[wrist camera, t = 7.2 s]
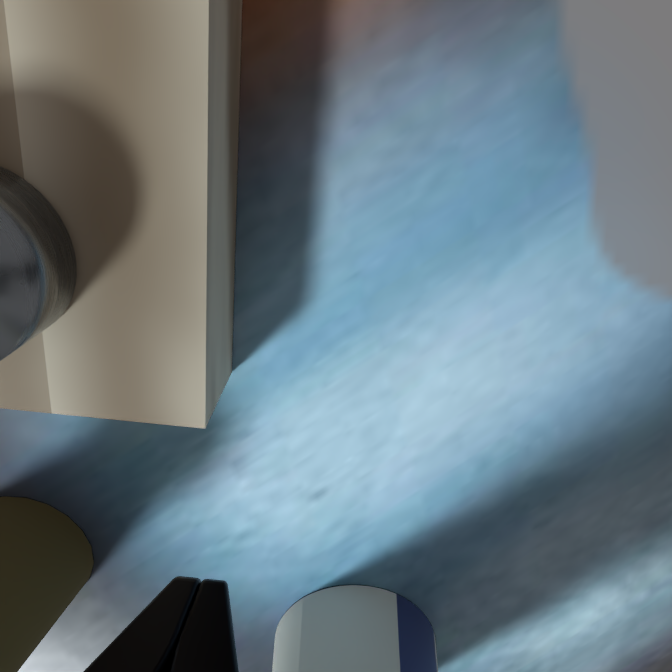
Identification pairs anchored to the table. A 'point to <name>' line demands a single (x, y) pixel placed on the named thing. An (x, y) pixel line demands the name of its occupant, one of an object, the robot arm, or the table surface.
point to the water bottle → (354, 633)
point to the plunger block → (128, 199)
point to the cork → (36, 574)
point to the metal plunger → (31, 263)
